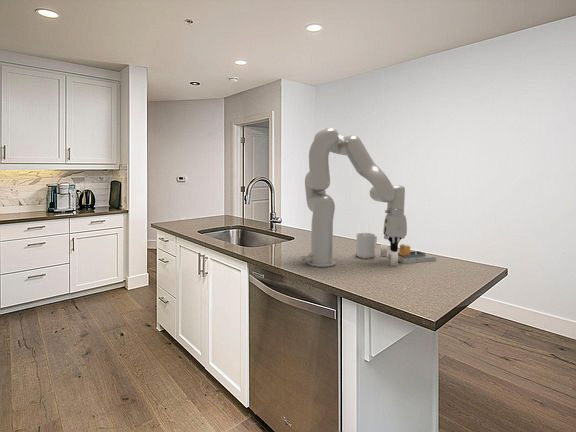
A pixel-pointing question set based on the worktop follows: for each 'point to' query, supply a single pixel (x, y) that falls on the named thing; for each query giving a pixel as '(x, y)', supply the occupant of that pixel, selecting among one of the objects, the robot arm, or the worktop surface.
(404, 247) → the toggle
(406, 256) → the panel
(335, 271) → the worktop surface
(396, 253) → the post near
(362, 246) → the mug
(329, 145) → the robot arm
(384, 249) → the post far
